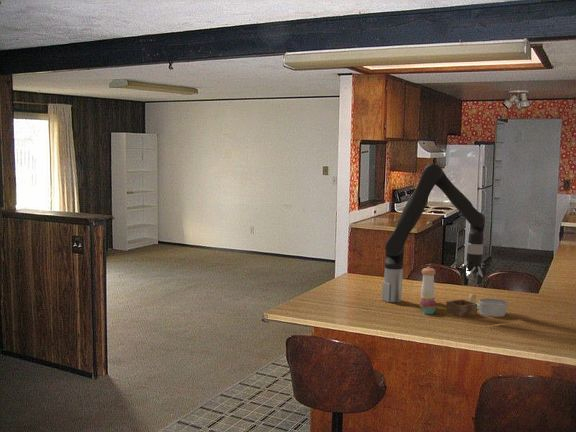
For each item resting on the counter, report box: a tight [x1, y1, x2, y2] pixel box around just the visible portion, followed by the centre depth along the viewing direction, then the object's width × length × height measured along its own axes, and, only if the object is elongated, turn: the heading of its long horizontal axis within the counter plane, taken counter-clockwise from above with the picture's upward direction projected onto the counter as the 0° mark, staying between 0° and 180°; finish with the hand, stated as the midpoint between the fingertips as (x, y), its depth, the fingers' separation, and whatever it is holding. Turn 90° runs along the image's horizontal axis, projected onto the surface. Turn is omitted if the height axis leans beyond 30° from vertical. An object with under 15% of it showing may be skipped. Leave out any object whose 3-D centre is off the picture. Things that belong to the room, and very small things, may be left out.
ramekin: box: [478, 297, 509, 318], centre depth 292 cm, size 13×13×7 cm
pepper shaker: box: [419, 266, 437, 303], centre depth 311 cm, size 7×7×19 cm
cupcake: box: [419, 291, 439, 315], centre depth 291 cm, size 9×8×12 cm
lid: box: [468, 293, 479, 310], centre depth 304 cm, size 10×10×6 cm
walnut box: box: [445, 298, 478, 318], centre depth 291 cm, size 10×10×6 cm
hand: (472, 284), depth 303 cm, fingers open, 8 cm apart
